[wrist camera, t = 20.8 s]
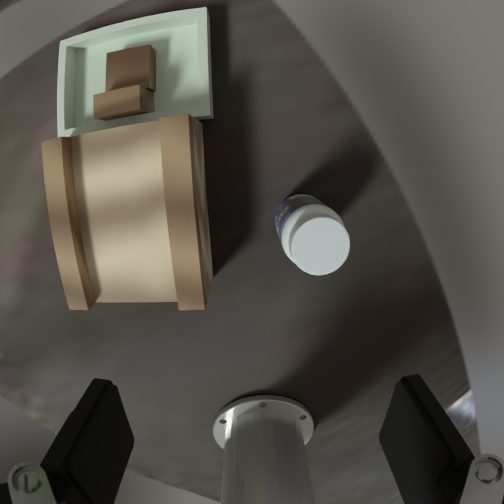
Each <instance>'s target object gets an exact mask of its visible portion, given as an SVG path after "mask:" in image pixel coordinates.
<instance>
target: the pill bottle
mask: <svg viewBox="0 0 504 504" xmlns="http://www.w3.org/2000/svg"><path fill="white" fill-rule="evenodd" d="M275 225H276V230H277V232H278V235H279V238H280V241H281V244H282V247H283V250H284V251H285V253H286V255H287V256H288V257H289V259H290V260H291V261H293V262H294V263H295V264H296V265H297V266H298V267H299V268H300V269H301V270H303V271H304V272H306V273H309V274H312V275H325V274H329V273H331V272H333V271H335V270H336V269H338V268H339V267H340V266H341V265H342V264H343V263H344V261H345V260H346V258H347V256H348V253H349V249H350V238H349V235H348V232H347V230H346V229H345V227H344V224H343V222H342V220H341V218H340V217H339V215H338V214H337V213H336V212H335V211H333V210H332V209H331V208H329V207H328V206H326V205H325V204H324V203H322V202H321V201H319V200H318V199H316V198H315V197H312V196H310V195H305V194H299V195H294V196H291V197H289V198H288V199H286V200H285V201H284V202H283V203H282V204H281V205H280V206H279V208H278V210H277V213H276V217H275Z"/></svg>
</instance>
